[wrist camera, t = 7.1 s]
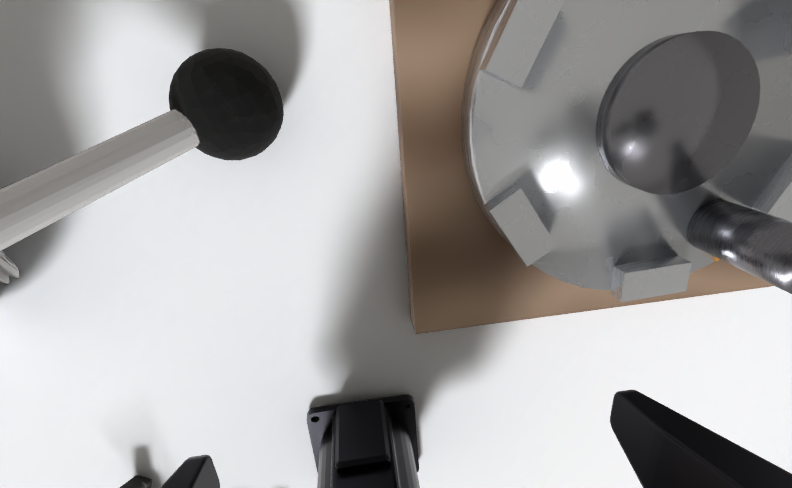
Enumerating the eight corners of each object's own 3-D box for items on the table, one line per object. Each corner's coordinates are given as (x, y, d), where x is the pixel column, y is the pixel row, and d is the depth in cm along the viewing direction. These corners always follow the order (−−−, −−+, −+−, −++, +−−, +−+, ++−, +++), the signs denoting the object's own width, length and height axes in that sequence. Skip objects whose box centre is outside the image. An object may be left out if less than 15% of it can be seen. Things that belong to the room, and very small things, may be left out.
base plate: (750, 274, 25) (778, 288, 23) (411, 318, 23) (416, 337, 22) (883, -179, 17) (942, -207, 15) (378, -164, 15) (382, -193, 13)
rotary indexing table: (386, 72, 16) (411, 69, 10) (748, -222, 14) (1040, -438, 8) (561, 326, 22) (640, 416, 16) (835, 145, 20) (1042, 173, 14)
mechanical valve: (-379, 210, 14) (-1400, 230, 4) (116, 44, 24) (219, -79, 13) (-102, 395, 19) (-209, 634, 8) (217, 194, 29) (351, 190, 18)
